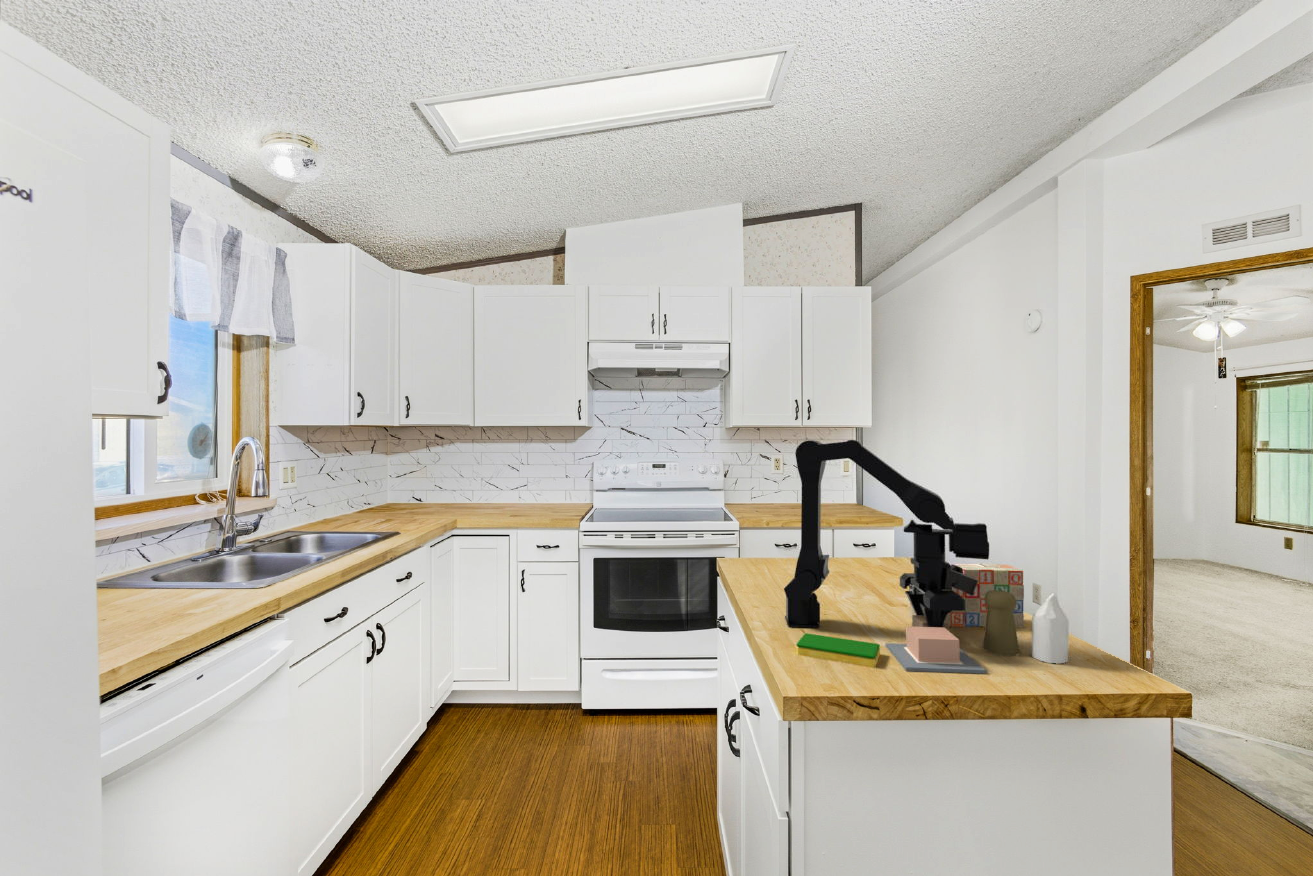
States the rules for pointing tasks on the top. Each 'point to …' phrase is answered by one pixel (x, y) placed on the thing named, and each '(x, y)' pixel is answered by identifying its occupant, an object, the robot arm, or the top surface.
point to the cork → (1000, 624)
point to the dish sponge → (839, 649)
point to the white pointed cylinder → (1050, 632)
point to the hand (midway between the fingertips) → (930, 633)
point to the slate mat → (914, 665)
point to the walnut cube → (924, 622)
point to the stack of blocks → (987, 581)
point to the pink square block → (932, 644)
